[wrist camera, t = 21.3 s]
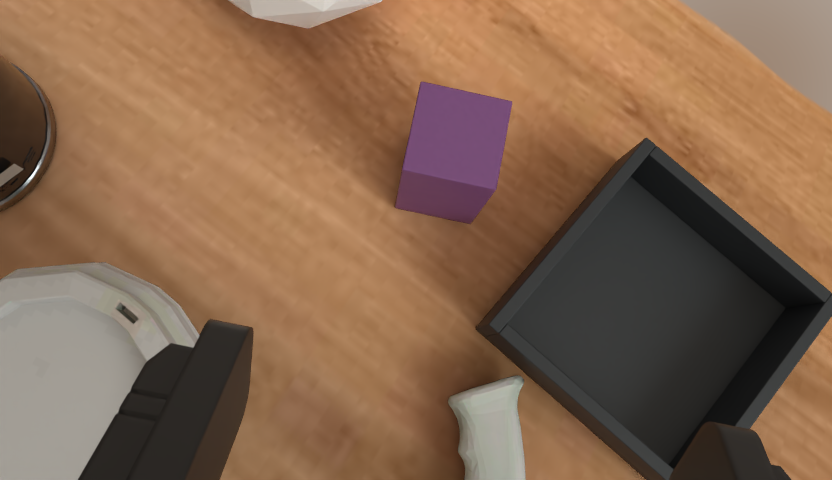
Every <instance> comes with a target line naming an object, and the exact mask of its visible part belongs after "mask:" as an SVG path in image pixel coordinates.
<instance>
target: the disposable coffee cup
mask: <svg viewBox="0 0 832 480" xmlns="http://www.w3.org/2000/svg"><path fill="white" fill-rule="evenodd" d="M199 336H200V335H199V334H198V332H197V331H196V329H195V328H194V326H193V325H192V323H191V321H190V320H189V318H188V317H187V315H186V314H185V312H184V311H183V309H182V308H181V306H180V305H179V304H178V303H177V302H175V301H174V300H173V299H172V298H171V297H170V296H168V295H167V294H166V293H165V292H164V291H163V290H161V289H160V288H159V287H157V286H155V285H153V284H151V283H149V282H147V281H144V280H142V279H140V278H138V277H136V276H134V275H132V274H129V273H127V272H125V271H123V270H121V269H119V268H116V267H114V266H112V265H110V264H108V263H106V262H101V263H95V262H93V263H81V264H70V265H58V266H47V267H35V268H24V269H16V270H15V271H13V272H12V273H10V274H8V275H7V276H5V277H4V278H2V279H1V280H0V480H78V478H79V477H80V475H81V473H82V471H83V470H84V468H85V466H86V464H87V463H88V461H89V459H90V458H91V456H92V454H93V452H94V451H95V449H96V447H97V446H98V444H99V442H100V440H101V439H102V437H103V435H104V433H105V432H106V430H107V428H108V427H109V425H110V423H111V421H112V420H113V418H114V416H115V415H116V414H118V412H119V408H120V406H121V404H122V402H123V401H124V399H125V397H126V396H127V394H128V393H130V391H131V387H132V385H133V383H134V382H135V380H136V378H137V377H138V375H139V373H140V371H141V370H142V368H143V366H144V365H145V363H146V362H147V361H148V360H149V359H151V358H152V357H153V356H155V355H156V354H157V353H158V352H160V351H161V350H162V349H164V348H165V347H166V346H168V345H169V344H170V343H173V344H178V345H183V346H188V347H194V345H195V343H196V341H197V340H198V338H199Z"/></svg>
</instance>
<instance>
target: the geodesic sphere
mask: <svg viewBox="0 0 832 480" xmlns="http://www.w3.org/2000/svg"><path fill="white" fill-rule="evenodd" d="M228 1H230V2H231V3H232V4H234V5H235V6H237V7H238V8H240V9H241V10H243V11H244V12H246V13H248V14H249V15H251V16H252V17H254V18H259V19H264V20H269V21H274V22H279V23H284V24H289V25H293V26H298V27H303V28H308V29H309V28H312V27H315V26H317V25H320V24H323V23H325V22H328V21H331V20H333V19H336V18H339V17H342V16H344V15H347V14H350V13H352V12H355V11H358V10H360V9H363V8H366V7H369V6H371V5H374V4H377V3H379V2H382V0H228Z"/></svg>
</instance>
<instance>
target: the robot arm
mask: <svg viewBox="0 0 832 480" xmlns="http://www.w3.org/2000/svg"><path fill="white" fill-rule="evenodd" d="M55 142H56V123H55V117H54V113H53V110H52V107H51V104H50V102H49V100H48V98H47V96H46V95H45V93H44V92H43V90H42V89H41V88H40V87H39V85H38V84H37V83H36V82H35V81H34V80H33V79H32V78H30V77H29V76H28V75H27V74H26V73H25V72H23V71H22V70H21V69H20V68H18V67H17V66H15V65H13V64H12V63H10V62H9V61H8V60H6V59H5V58H4V57H3V56H2V55H1V54H0V211H2V210H4V209H6V208H8V207H10V206H11V205H13V204H15V203H16V202H17V201H19V200H20V199H22V198H23V197H24V196H25V195H26V194H28V193H29V192H30V191H31V190H32V189H33V188H34V186H35V185H36V184H37V183H38V182H39V180H40V179H41V177H42V176H43V174H44V173H45V171H46V169H47V167H48V165H49V163H50V161H51V158H52V155H53V152H54V147H55ZM252 346H253V328H252V327H247V326H242V325H237V324H232V323H227V322H222V321H218V320H213V319H210V320H208V321H207V323H206V324H205V326H204V328H203V330H202V332H201V334H200V336H199V338H198V340H197V341H196V343H195V345H194V347H188V346H183V345H178V344H173V343H170V344H169V345H168V346H166V347H165V348H164V349H162V350H161V351H160V352H158V353H157V354H156V355H155V356H153V357H152V358H151V359H149V360H148V361H147V362H146V363H145V365H144V366H143V368H142V370H141V371H140V373H139V375H138V377H137V378H136V380H135V382H134V383H133V385H132V387H131V391H130V393H128V394H127V396H126V397H125V399H124V401H123V402H122V404H121V406H120V408H119V412H118V414H116V415H115V416H114V418H113V420H112V421H111V423H110V425H109V427H108V428H107V430H106V432H105V433H104V435H103V437H102V439H101V440H100V442H99V444H98V446H97V447H96V449H95V451H94V452H93V454H92V456H91V458H90V459H89V461H88V463H87V464H86V466H85V468H84V470H83V471H82V473H81V475H80V477H79V478H78V480H220V477H221V474H222V472H223V469H224V466H225V464H226V461H227V459H228V456H229V453H230V451H231V448H232V445H233V443H234V440H235V437H236V435H237V432H238V430H239V427H240V424H241V421H242V418H243V415H244V411H245V408H246V403H247V399H248V393H249V385H250V372H251V359H252ZM669 480H791V479H790V478H789V476H788V475H787V474H786V473H785V471H784V470H783V469H782V468H781V466H776V465H771V464H770V461H769V459H768V457H767V454H766V452H765V449H764V447H763V444H762V442H761V440H760V438H759V436H758V434H757V433H756V432H755V431H753V430H751V429H746V428H741V427H736V426H731V425H726V424H721V423H716V422H711V421H709V422H706V423H705V424H703V425H702V427H701V428H700V429H699V431H698V433H697V434H696V436H695V437H694V439H693V440H692V442H691V444H690V445H689V447H688V448H687V450H686V451H685V453H684V454H683V456H682V458H681V459H680V461H679V462H678V464H677V465H676V467H675V468H674V470H673V472H672V473H671V476H670V478H669Z"/></svg>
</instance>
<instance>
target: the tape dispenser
mask: <svg viewBox="0 0 832 480" xmlns="http://www.w3.org/2000/svg"><path fill="white" fill-rule="evenodd" d="M523 384H524V379H523V378H522V377H521V376H519V375H516V376H512V377H508V378H504V379H501V380H498V381H495V382H492V383H488V384H485V385H482V386H479V387H475V388H472V389H470V390H467V391H464V392H461V393H458V394H455V395H453V396H450V397H449V399H448V404H449V406H450V407H451V408H452V410H453V412H454V413H455V415H456V417H457V420H458V424H459V430H460V441H459V446H458V453H459V454H460V456H461V458H462V459H463V461H464V465H465V478H464V480H526V479H525V460H524V451H523V443H522V435H521V427H520V421H519V416H518V410H517V402H518V396H519V392H520V389H521V388H522V386H523Z"/></svg>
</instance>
